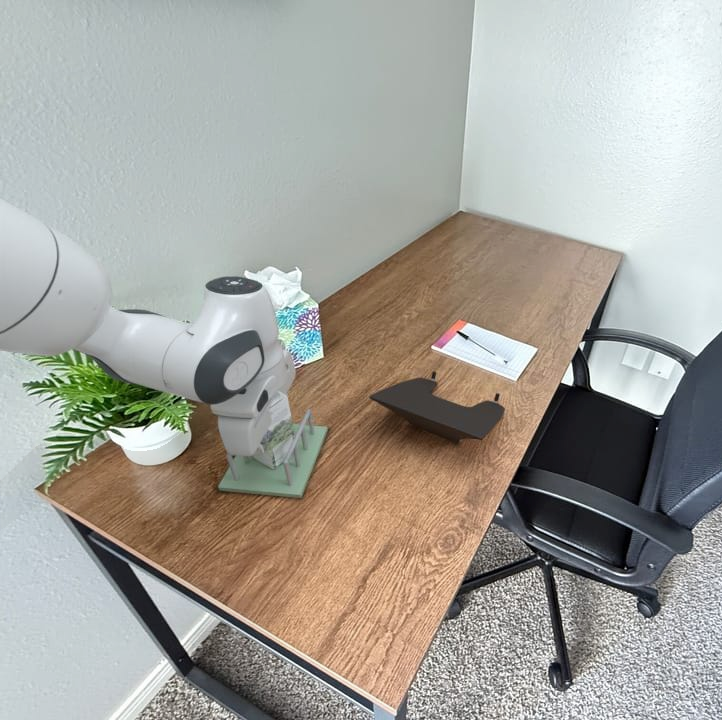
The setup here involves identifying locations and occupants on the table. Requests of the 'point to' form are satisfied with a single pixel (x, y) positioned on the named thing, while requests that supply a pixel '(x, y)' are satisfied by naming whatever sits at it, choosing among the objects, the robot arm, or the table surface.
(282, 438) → the syrup box
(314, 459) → the drying rack
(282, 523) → the table surface
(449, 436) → the laptop tray
